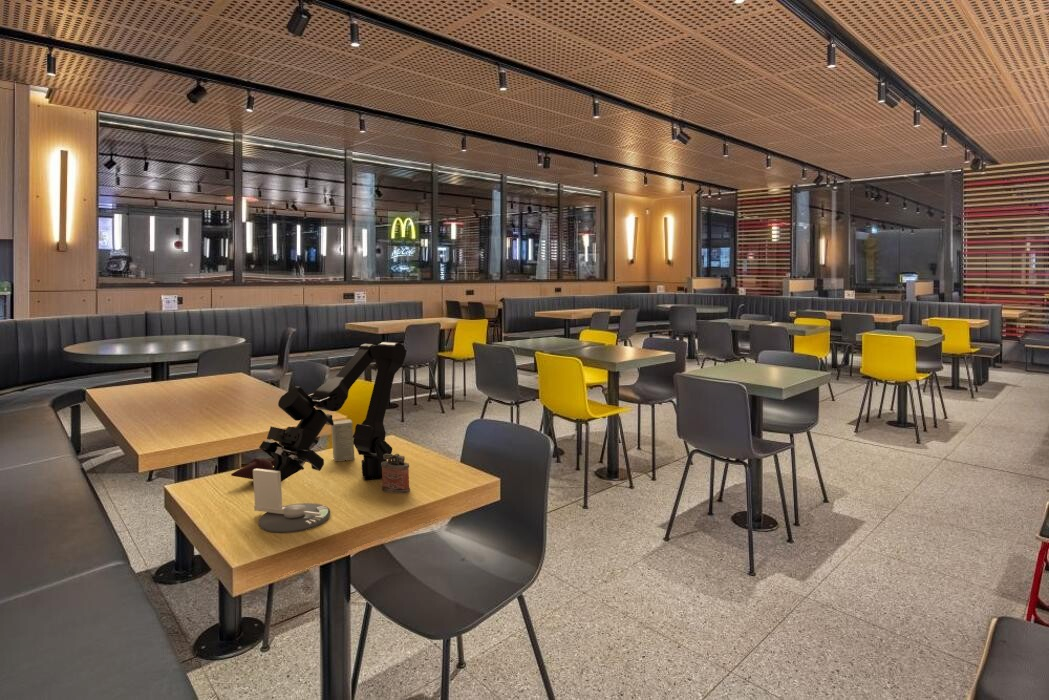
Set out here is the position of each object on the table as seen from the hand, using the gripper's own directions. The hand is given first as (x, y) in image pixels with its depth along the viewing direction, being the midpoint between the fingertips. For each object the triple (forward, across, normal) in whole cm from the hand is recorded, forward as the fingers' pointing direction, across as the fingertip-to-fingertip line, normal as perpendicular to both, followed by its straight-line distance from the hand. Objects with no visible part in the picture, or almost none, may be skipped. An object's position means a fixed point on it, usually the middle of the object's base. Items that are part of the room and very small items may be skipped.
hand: (271, 485), depth 149 cm
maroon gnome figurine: (-4, -25, +14) cm, 29 cm away
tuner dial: (+4, +7, +6) cm, 10 cm away
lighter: (-14, +14, +25) cm, 32 cm away
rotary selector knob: (+4, +5, +5) cm, 8 cm away
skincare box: (-22, -21, +33) cm, 45 cm away
